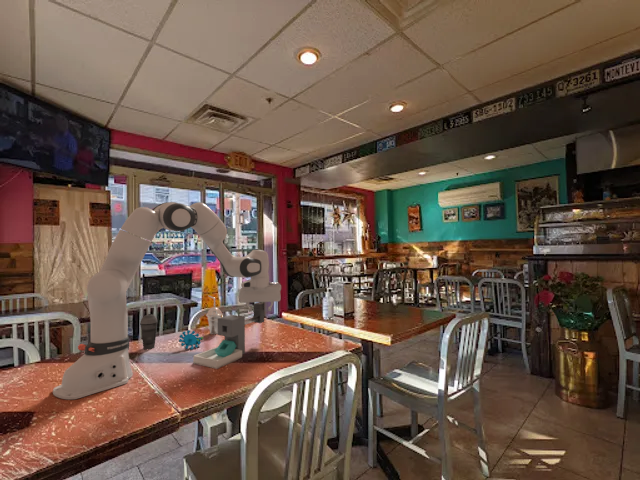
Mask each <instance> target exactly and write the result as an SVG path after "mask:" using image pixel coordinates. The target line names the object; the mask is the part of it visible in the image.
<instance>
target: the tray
mask: <svg viewBox="0 0 640 480" xmlns="http://www.w3.org/2000/svg"><path fill="white" fill-rule="evenodd" d="M217 347H218V346H216V347H213V348H210V349H208V350H205V351H202V352H200V353H197V354H194V355H193V358H192V359H193V361H192V362H193V364H194V365H199V366H203V367H206V368H207V367H208V368H211V369H215V370H218V369H220V368H222V367H225V366H226V365H227V366H228V365H229V364H231V363H233V362H235V361H238V360H239V359H242V358H243V354H242V350H238V349H234V351H233V352H232V354H231V355H228V356H226V357H222V356H218V355H217V354H216V352H215V350H216V349H217Z"/></svg>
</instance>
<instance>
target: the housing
mask: <svg viewBox="0 0 640 480" xmlns="http://www.w3.org/2000/svg"><path fill="white" fill-rule="evenodd" d="M245 320H246V319H245V316H242V315H235V314H229V315H226V316H221V318H218V334H217V336H221V337H224V340H228V341H234V343H235V344H236V348H235V349H238V350H242V355H244V354H246V336H245V335H246V329H245V328H246V327H245V326H246V325H245Z"/></svg>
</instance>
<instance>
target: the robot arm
mask: <svg viewBox="0 0 640 480" xmlns="http://www.w3.org/2000/svg"><path fill="white" fill-rule="evenodd" d="M189 228H192V229H193V230H194V231H195V232H196V233H197V235H198V236H199V237H200V238H201V239H202V240H203V242H205V244H206V246H207V247H208V249H209V250H210V252H211V253H212V254H213V255H214V257H215V258H216V259H217V261H219V263H220V265H221V268H222V271H223V272H224V274H225V275H226V276H228V277H229V278H245V279H247V278H250V279H248V280H244V281H243V282H241V287H240V289H239V293H238V302H239V303H241V304H242V303H243V304H244V303H245V306H246V308H247V309H248V311H247V312H249V313H250V312H251V313H252V311H253V310H252V309H253V308H252V306H251V307H250V303H269V302H270V306H268V308H267V311H268V312H271V311H272V307H273V305H274V303H275V302H280V301H281V300H282V299H281V298H282V297H281V290H282V285H281V283H279V282H278V281H276V282H271V281H270V275H269V270H270V269H269V268H270V261H269V260H270V259H269V255H268V251H266V250H263V249H252V250H251V251H250V253H248V254H247V255H244V256H235V255H233V254H232V253H231V252H230V251H229V250H228V248H227V247H226V245H225V244H224V242H223V241H224V240H225V238H226V237H227V234H228V233H227V232H228V229H227V227H226V225H225V223H224V221H222V219H220V217H219V216H218V215H217V213H215V212H214V211H213V210H212V209H211V208H210V206H208V205H206V204H205V203H204V202H195V203H194V202H193V203H192V204H191V205H186V204H184V203H180V202H179V203H178V202H177V201H176V202H175V201H169V202H167V201H165V202H163V203H162V202H161V203H159V205H156V206H155V207H153V208H149V207H144V206H141V207H137V208H135V209H134V210H133V211H132V212H131V213H130V215H129V216H128V217H127V218H126V219H125V221H124V222H123V224H122V226H121V228H120V229H119V231H118V232H117V235H116V236H115V238H114V240H113V242H112V243H111V245H110V247H109V250H108V252H107V255H106V257H105V260H104V261H103V263H102V265H101V268H100V269H99V271H98V272H97V273H95V274H93V275H92V276H91V277H90V278H89V280H88V282H87V285H86V293H87V302H88V310H89V317H90V318H89V319H90V340H89V342H88V343H87V344H84V343H81V344H78V346H77V350H79V351H84V354H83V355H82V356H80V357H79V358H78V359H77V360H76V361H75V362H74V363H72V364H71V365H70V366H69V367H68V368H67V369H66V370H65V371H64V373H63V375H62V379H61V384H60V385H57V386H54V387H53V389H52V394H53V396H54V397H56V398H59V399H62V400H77V399H80V398H84V397H87V396H91V395H93V394H96V393H99V392H103V391H106V390H109V389H113V388H115V387H116V388H117V387H119V386H124V385H125V384H127V383H128V382H129V379H130V378H132V377H133V375H134V373H133V370H132V367H131V361H130V355H129V350H130V336H129V334H128V333H129V332H128V331H129V329H128V327H129V323H128V322H129V313H128V306H127V303H128V302H127V291H128V289H129V288H130V285H131V284H132V281H133V279H134V277H135V275H136V273H137V272H138V269H139V267H140V265H141V264H142V261H143V259H144V258H145V255H146V254H147V252H148V250H149V248H150V246H151V244H152V242H153V240H154V239H155V236H156V234H158V232H159V231H160V230H161V229H165V230H168V231H174V232H183V231H185V230H187V229H189Z"/></svg>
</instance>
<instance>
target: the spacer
mask: <svg viewBox="0 0 640 480" xmlns="http://www.w3.org/2000/svg"><path fill="white" fill-rule="evenodd" d="M216 347H217V349H216V350H215V352H216V354H217V355H218V356H222V357H226V356H228V355H231V354H232V352H233V351H234V349H235V348H236V344H235V343H234V341H228V340H225V339H222V340H221V342H220V343H219V345H218V346H216Z"/></svg>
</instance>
